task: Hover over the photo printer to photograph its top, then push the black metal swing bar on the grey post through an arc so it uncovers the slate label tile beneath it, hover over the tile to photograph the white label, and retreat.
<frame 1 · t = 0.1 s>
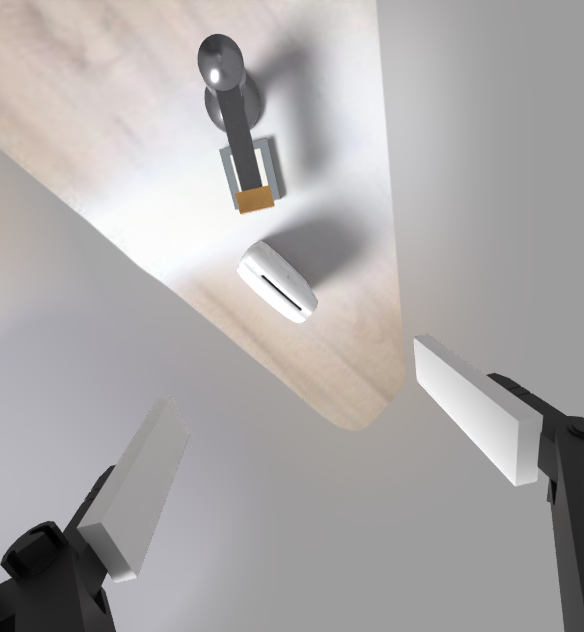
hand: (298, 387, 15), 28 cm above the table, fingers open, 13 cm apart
label tile: (251, 176, 36), on the table
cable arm: (238, 133, 28), point 8 cm above the table, hinge at 0.0°
pivot post: (233, 104, 34), on the table
photo printer: (276, 271, 41), on the table
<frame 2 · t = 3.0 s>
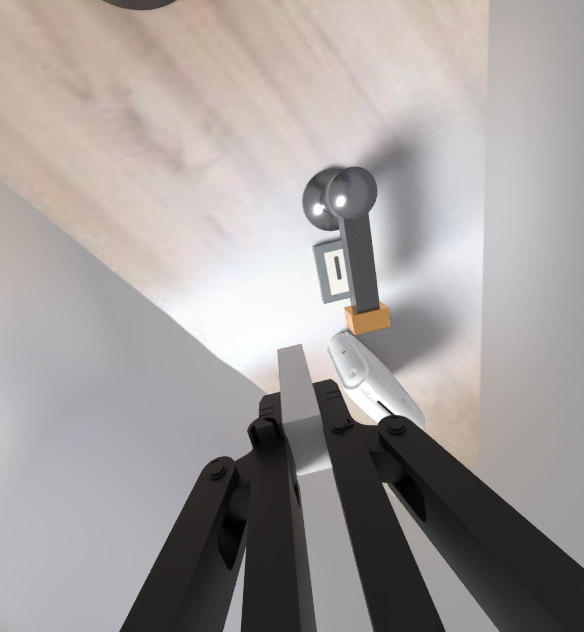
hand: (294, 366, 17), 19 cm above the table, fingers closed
label tile: (341, 269, 35), on the table
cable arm: (357, 254, 26), point 8 cm above the table, hinge at 0.0°
pivot post: (330, 201, 32), on the table
photo printer: (356, 358, 39), on the table
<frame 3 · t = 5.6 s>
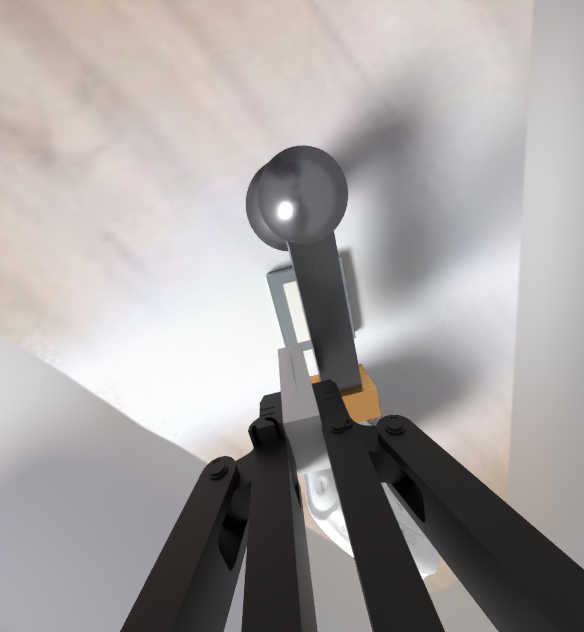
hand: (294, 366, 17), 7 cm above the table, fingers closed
label tile: (311, 305, 24), on the table
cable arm: (322, 301, 15), point 8 cm above the table, hinge at 0.2°, touching gripper
pivot post: (289, 206, 21), on the table
photo printer: (340, 421, 28), on the table
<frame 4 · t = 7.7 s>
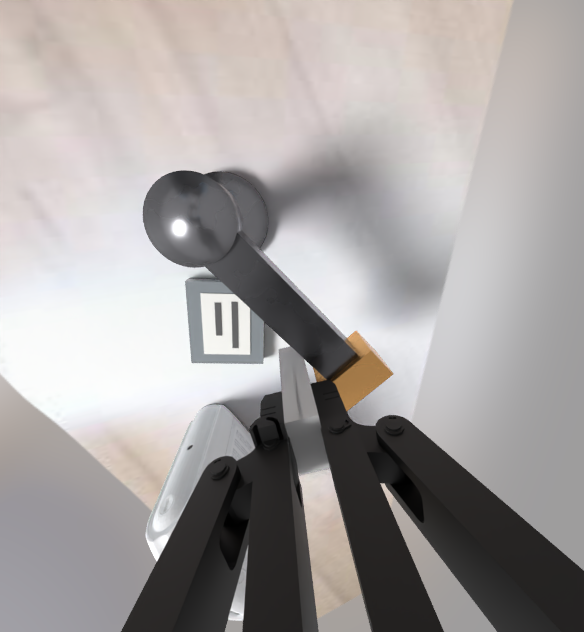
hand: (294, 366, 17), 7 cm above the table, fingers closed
label tile: (228, 320, 24), on the table
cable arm: (275, 297, 15), point 8 cm above the table, hinge at 46.2°, touching gripper
pivot post: (225, 220, 21), on the table
photo printer: (234, 440, 28), on the table
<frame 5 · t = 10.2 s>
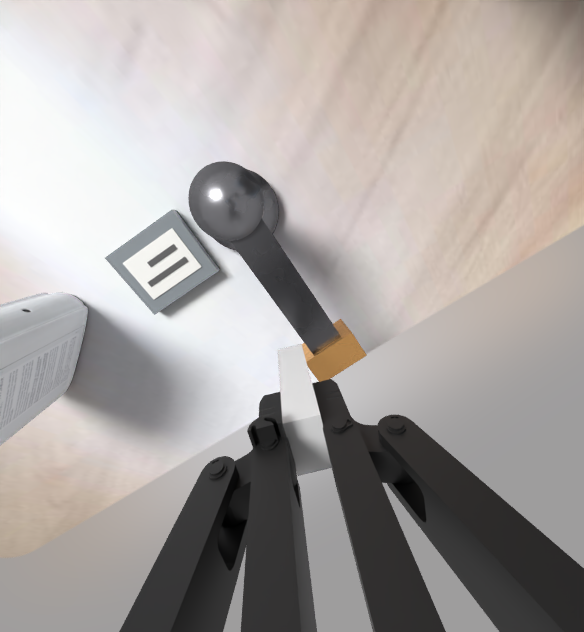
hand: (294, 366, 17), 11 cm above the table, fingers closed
label tile: (166, 263, 25), on the table
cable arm: (280, 277, 18), point 8 cm above the table, hinge at 91.2°
pivot post: (240, 211, 24), on the table
photo printer: (61, 341, 26), on the table
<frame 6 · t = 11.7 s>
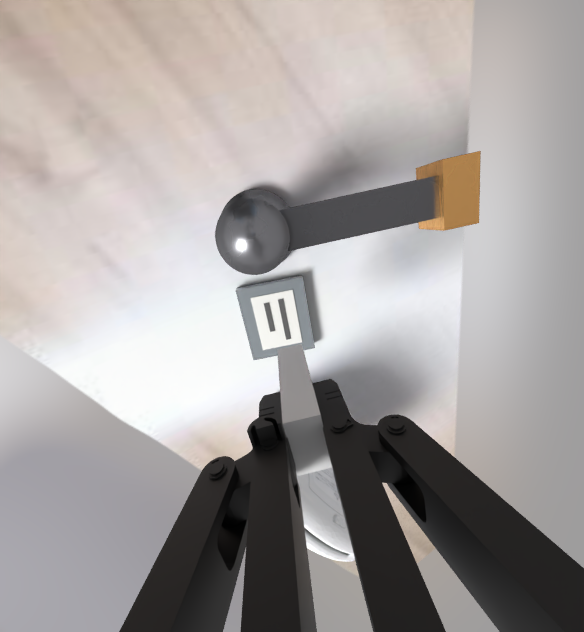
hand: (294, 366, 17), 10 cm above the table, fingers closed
label tile: (276, 317, 27), on the table
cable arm: (341, 217, 16), point 8 cm above the table, hinge at 91.4°
pivot post: (258, 230, 24), on the table
photo printer: (301, 421, 31), on the table
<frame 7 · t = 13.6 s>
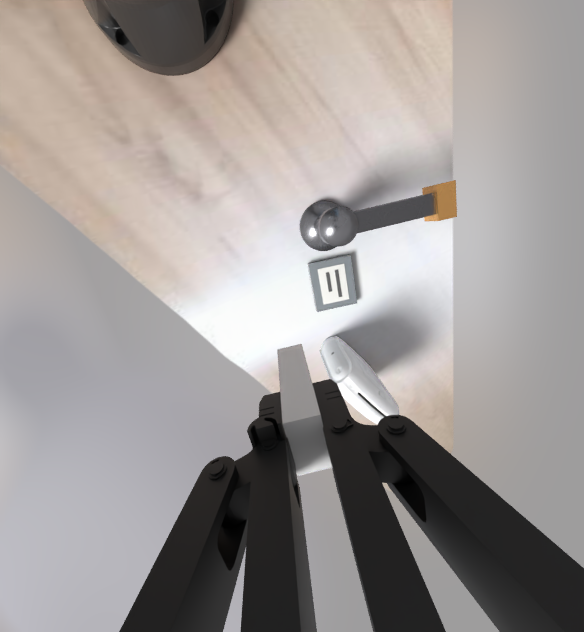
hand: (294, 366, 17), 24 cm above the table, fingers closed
label tile: (332, 283, 41), on the table
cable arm: (383, 215, 31), point 8 cm above the table, hinge at 91.4°
pivot post: (322, 226, 38), on the table
photo printer: (345, 359, 45), on the table
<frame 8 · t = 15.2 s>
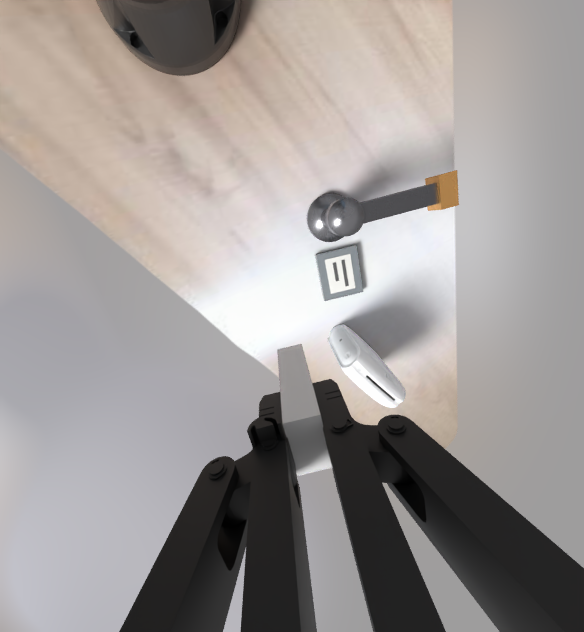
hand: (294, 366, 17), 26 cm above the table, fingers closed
label tile: (338, 272, 42), on the table
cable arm: (388, 205, 32), point 8 cm above the table, hinge at 91.4°
pivot post: (329, 218, 40), on the table
photo printer: (352, 346, 47), on the table
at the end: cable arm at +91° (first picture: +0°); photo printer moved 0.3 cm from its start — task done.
